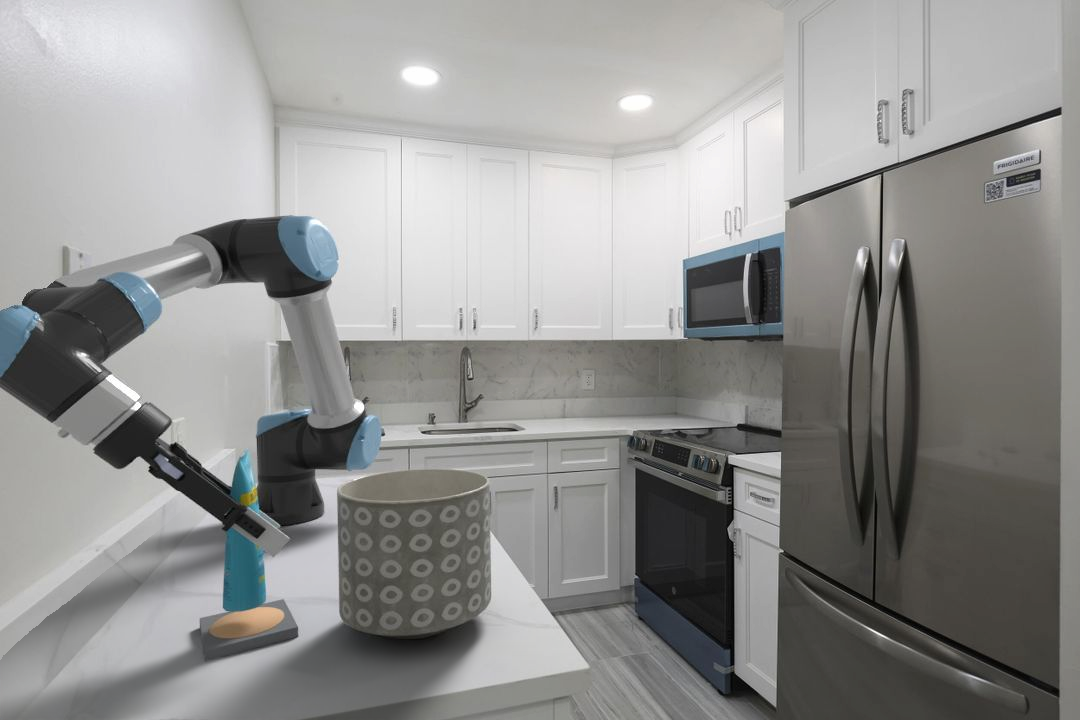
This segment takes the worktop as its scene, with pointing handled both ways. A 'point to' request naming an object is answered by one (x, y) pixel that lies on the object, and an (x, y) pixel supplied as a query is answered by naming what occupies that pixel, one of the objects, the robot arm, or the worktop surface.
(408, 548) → the planter
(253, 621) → the coaster
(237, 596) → the tube
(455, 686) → the worktop surface
